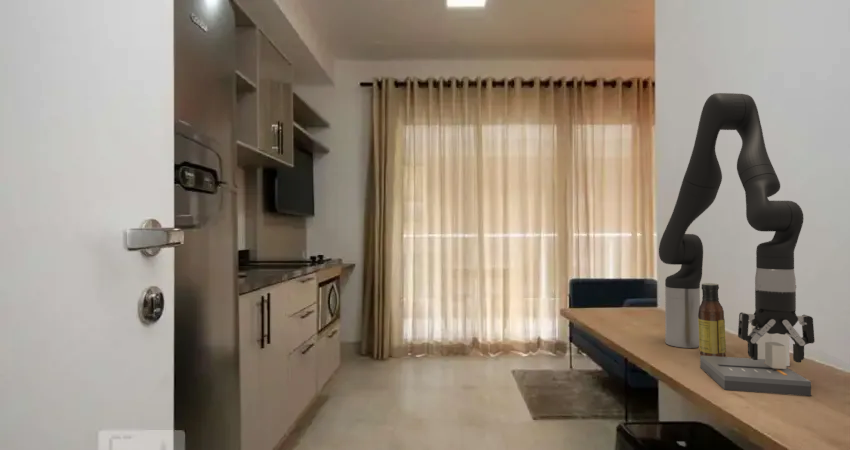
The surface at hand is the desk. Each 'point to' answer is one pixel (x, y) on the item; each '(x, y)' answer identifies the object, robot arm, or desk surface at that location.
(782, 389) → the fader console
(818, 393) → the desk surface
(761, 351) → the jar
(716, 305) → the sauce bottle
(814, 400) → the desk surface
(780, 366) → the fader tab
